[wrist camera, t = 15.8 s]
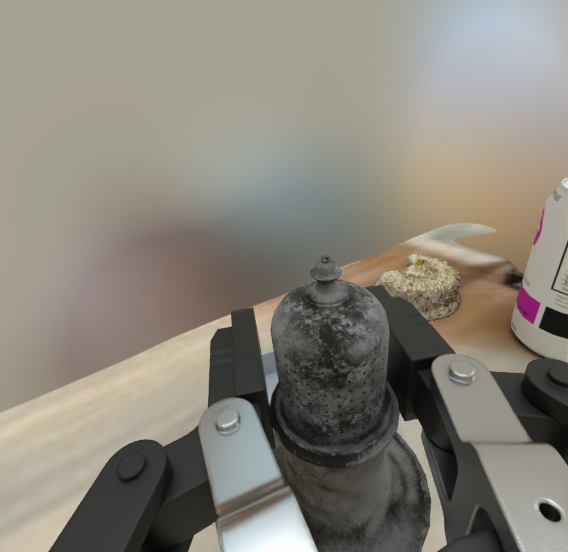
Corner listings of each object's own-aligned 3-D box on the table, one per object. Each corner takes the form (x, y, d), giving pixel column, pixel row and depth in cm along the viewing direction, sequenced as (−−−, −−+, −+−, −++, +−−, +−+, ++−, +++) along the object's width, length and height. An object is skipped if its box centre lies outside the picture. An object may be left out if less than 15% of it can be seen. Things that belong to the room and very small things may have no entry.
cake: (471, 291, 42) (483, 254, 39) (439, 337, 36) (451, 297, 33) (395, 265, 48) (401, 230, 45) (357, 300, 42) (360, 263, 39)
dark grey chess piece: (415, 472, 15) (456, 206, 9) (426, 669, 10) (532, 377, 4) (285, 448, 16) (245, 209, 11) (241, 606, 12) (120, 332, 6)
